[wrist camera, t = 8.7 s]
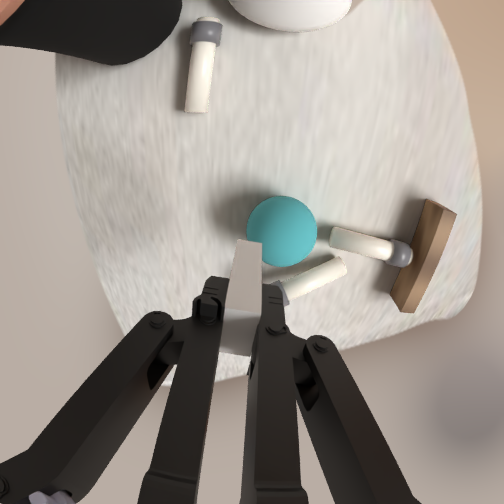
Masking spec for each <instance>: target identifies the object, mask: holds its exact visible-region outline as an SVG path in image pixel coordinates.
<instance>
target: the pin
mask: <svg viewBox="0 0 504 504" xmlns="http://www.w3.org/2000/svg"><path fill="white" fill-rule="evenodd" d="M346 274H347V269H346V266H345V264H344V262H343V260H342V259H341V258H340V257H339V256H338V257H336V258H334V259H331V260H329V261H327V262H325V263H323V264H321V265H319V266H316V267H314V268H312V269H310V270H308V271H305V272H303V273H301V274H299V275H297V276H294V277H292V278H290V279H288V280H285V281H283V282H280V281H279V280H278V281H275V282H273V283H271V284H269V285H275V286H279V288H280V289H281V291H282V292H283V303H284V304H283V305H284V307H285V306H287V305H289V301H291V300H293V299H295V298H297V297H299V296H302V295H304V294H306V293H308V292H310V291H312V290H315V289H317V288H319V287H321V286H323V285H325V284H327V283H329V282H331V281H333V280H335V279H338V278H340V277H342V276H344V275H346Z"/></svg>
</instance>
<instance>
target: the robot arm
mask: <svg viewBox="0 0 504 504" xmlns="http://www.w3.org/2000/svg"><path fill="white" fill-rule="evenodd" d="M283 304H284V303H283V292H282V291H281V289H280V288H279V286H275V285H269V284H262V243H258V242H253V241H247V240H241V239H238V240H237V245H236V250H235V255H234V260H233V265H232V270H231V275H230V279H228V278H222V277H216V276H211V277H209V278H208V279H207V280H206V282H205V285H204V288H203V291H202V294H201V295H199V296H197V297H196V298H195V299H194V300H193V307H192V316H191V317H189V318H187V319H181V320H173V319H172V317H171V316H170V315H169V314H167V313H165V312H161V311H153V312H150V313H148V314H146V315H145V316H144V317H143V318H142V319H141V320H140V321H139V322H138V323H137V324H136V325H135V326H134V327H133V329H132V330H131V331H130V332H129V333H128V334H127V335H126V336H125V337H124V338H123V339H122V340H121V342H120V343H119V344H118V345H117V346H116V347H115V348H114V349H113V350H112V352H111V353H110V354H109V355H108V356H107V357H106V358H105V359H104V361H102V363H101V364H100V365H99V366H98V367H97V368H96V369H95V370H94V372H93V373H92V374H91V375H90V376H89V377H88V378H87V380H86V381H85V382H84V383H83V384H82V385H81V386H80V388H79V389H78V390H77V391H76V392H75V393H74V394H73V396H72V397H71V398H70V399H69V400H68V401H67V403H66V404H65V405H64V406H63V407H62V408H61V410H60V411H59V412H58V413H57V415H56V416H55V417H54V418H53V419H52V420H51V422H50V423H49V424H48V425H47V427H46V428H45V429H44V430H43V431H42V433H41V434H40V435H39V436H38V438H37V439H36V440H35V441H34V443H33V444H32V445H31V446H30V448H29V449H28V450H26V451H25V452H22V453H20V454H18V455H17V456H15V457H13V458H11V459H9V460H7V461H5V462H3V463H0V503H1V504H76V503H78V502H79V501H80V500H81V499H83V498H84V497H85V496H86V495H87V494H88V493H89V491H90V490H91V489H92V487H93V486H94V485H95V483H96V482H97V480H98V479H99V477H100V476H101V474H102V473H103V471H104V470H105V468H106V467H107V465H108V464H109V462H110V461H111V459H112V458H113V456H114V455H115V453H116V452H117V450H118V449H119V447H120V445H121V444H122V443H123V441H124V440H125V438H126V437H127V435H128V434H129V432H130V431H131V429H132V428H133V426H134V425H135V423H136V422H137V420H138V419H139V417H140V416H141V414H142V413H143V411H144V410H145V408H146V407H147V405H148V404H149V402H150V401H151V399H152V398H153V396H154V394H155V393H156V392H157V390H158V389H159V387H160V386H161V384H162V383H163V381H164V380H165V378H166V377H167V375H168V374H169V372H170V371H171V369H172V368H173V366H174V365H175V364H177V368H176V371H175V374H174V378H173V381H172V385H171V388H170V392H169V396H168V399H167V403H166V407H165V410H164V414H163V418H162V422H161V425H160V429H159V433H158V437H157V441H156V445H155V449H154V453H153V457H152V461H151V465H150V468H149V470H148V471H147V472H146V474H145V476H144V478H143V481H142V485H141V489H140V494H139V498H138V503H137V504H196V503H197V494H198V486H199V480H200V473H201V465H202V459H203V451H204V445H205V438H206V432H207V425H208V418H209V412H210V405H211V399H212V393H213V386H214V380H215V374H216V368H217V362H218V354H219V352H223V353H229V354H235V355H242V356H249V357H250V356H251V361H250V365H249V368H248V372H247V375H249V379H248V395H247V410H246V426H245V442H244V456H243V473H242V486H241V499H240V503H239V504H309V502H308V496H307V493H306V491H305V490H304V489H303V488H302V486H301V476H300V456H299V439H298V424H297V408H296V400H297V403H298V406H299V409H300V411H301V414H302V417H303V419H304V422H305V425H306V427H307V430H308V433H309V436H310V438H311V441H312V444H313V446H314V449H315V451H316V454H317V457H318V460H319V462H320V465H321V468H322V470H323V473H324V476H325V478H326V481H327V484H328V486H329V489H330V492H331V494H332V497H333V499H334V502H335V504H421V503H420V502H419V501H418V500H417V499H415V497H413V495H412V493H411V491H410V488H409V486H408V484H407V482H406V480H405V478H404V476H403V475H402V472H401V470H400V468H399V466H398V464H397V462H396V460H395V458H394V456H393V454H392V452H391V450H390V448H389V446H388V444H387V442H386V440H385V438H384V436H383V435H382V432H381V430H380V428H379V426H378V424H377V422H376V421H375V419H374V417H373V415H372V413H371V411H370V409H369V407H368V405H367V403H366V402H365V400H364V398H363V396H362V394H361V392H360V391H359V388H358V386H357V385H356V383H355V381H354V379H353V377H352V375H351V373H350V372H349V370H348V368H347V366H346V364H345V363H344V361H343V359H342V357H341V355H340V353H339V352H338V350H337V348H336V346H335V344H334V343H333V342H332V341H331V340H330V339H329V338H327V337H325V336H322V335H314V336H311V337H309V338H308V339H307V340H305V339H302V338H300V337H297V336H295V335H293V334H292V333H291V332H290V330H289V328H288V326H287V325H286V324H285V313H284V305H283ZM251 352H252V353H251Z"/></svg>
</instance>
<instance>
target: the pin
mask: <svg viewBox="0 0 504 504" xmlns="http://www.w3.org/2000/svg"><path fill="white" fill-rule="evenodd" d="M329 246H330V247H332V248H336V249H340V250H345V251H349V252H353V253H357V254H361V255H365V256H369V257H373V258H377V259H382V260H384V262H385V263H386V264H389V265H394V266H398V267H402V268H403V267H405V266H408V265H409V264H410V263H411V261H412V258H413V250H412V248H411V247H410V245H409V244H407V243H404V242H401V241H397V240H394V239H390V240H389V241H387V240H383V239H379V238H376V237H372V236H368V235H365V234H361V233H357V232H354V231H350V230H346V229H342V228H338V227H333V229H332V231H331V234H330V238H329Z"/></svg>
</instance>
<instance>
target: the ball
mask: <svg viewBox="0 0 504 504" xmlns="http://www.w3.org/2000/svg"><path fill="white" fill-rule="evenodd" d="M246 233H247V240H248V241H253V242H258V243H262V261H263V262H265V263H267V264H270V265H273V266H278V267H286V266H291V265H294V264H297V263H299V262H300V261H302V260H303V259H304V258H306V257H307V256H308V254H309V253H310V252H311V251H312V249H313V247H314V245H315V242H316V238H317V226H316V221H315V219H314V216H313V214H312V213H311V211H310V210H309V209H308V207H307V206H306V205H304V204H303V203H302V202H300V201H299V200H297V199H294V198H292V197H287V196H276V197H271V198H269V199H266V200H265V201H263V202H261V203H260V204H259V205H258V206H257V207H256V208H255V209H254V210H253V211H252V213H251V215H250V217H249V219H248V222H247V230H246Z"/></svg>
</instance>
